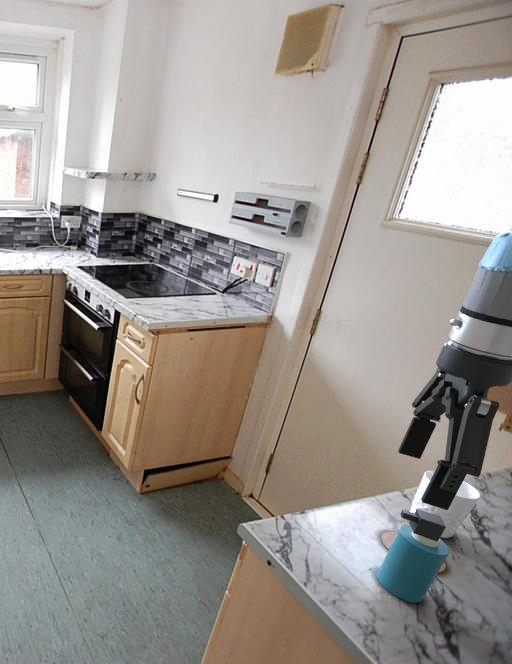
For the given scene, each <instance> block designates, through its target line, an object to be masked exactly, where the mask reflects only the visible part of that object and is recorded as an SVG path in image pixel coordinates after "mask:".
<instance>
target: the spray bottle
mask: <svg viewBox="0 0 512 664" xmlns="http://www.w3.org/2000/svg"><path fill="white" fill-rule="evenodd" d="M400 516H401V519H404V520H407V521H409V524H404V525H401V526H400V527H399V529H398V531H397V532H398V533H397V535H396V537H395V539H394V541H393V543H392V545H391V547H390V549H389V550H387V553H386V555H385V558H384V559H383V561H382V563H381V565H380V567H379V569H378V571H377V573H376V577H377V580H378V581H379V583H380V584H381V585H382V587H383V588H384V589H386V590H387V591H388V592H390V593H391V594H392V595H394V596H396V597H397V598H399V599H402V600H404V601H406V602H410V603H420V602H422V601H423V599H424V598H425V596H426V594H427V592H428V591H429V589H430V587H431V585H432V584H433V582H434V581H435V578H436V577H437V575H438V574H439V573H438V571H439V570H440V568H441V566H442V564H443V563H444V562H445V561H446V559H447V557H448V555H449V554H450V549H449V547H448V545H447V544H446V543H445V541H443V540H442V539H441V538H442V537H441V535H442V533H443V531H444V530H445V528H446V526H445V524H444V522H443V520H442V518H441V516H438V515H435V514H432V513H429V512H426V511H423V510H420V509H416V511H415V513H412V512H410V510H409V511H408V510H406V509H402V510H401V512H400Z"/></svg>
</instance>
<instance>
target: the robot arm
mask: <svg viewBox="0 0 512 664" xmlns="http://www.w3.org/2000/svg"><path fill="white" fill-rule="evenodd" d="M477 266H478V268H477V271H476V273H475V275H474V278H473V280H472V282H471V284H470V286H469V289H468V291H467V293H466V295H465V298H464V300H463V303H462V306H461V307H460V309H459V312H458V314H457V316H456V318H452V319H450V320H449V325H450V326H452V327H451V329H450V332H449V333H448V339H449V341H447V342H445V343H443V346H442V348H441V351H440V352H439V354H438V357H437V359H436V361H435V364H436V367H437V369H436V371H435V372H434V374H433V376H431V378H430V379H429V380H428V382H427V383H426V384H425V386H424V387H423V388H422V389H421V391H420V392H419V393H418V394H417V396H416V397H415V399H414V400H413V401H412V402H411V407H412V408H414V410H413V412H412V413H413V417H412V419H411V421H410V424H409V426H408V428H407V429H406V433H405V434H404V436H403V439H402V441H401V443H400V445H399V448H398V449H397V453H398V454H400V455H404V456H407V457H411V458H415V459H419V460H421V458H422V456H423V454H424V452H425V450H426V447H427V446H428V443H429V441H430V440H431V438H432V435H433V433H434V431H435V429H436V427H437V423H436V422H438V423H441V421H442V420H441V419H442V418H441V416H442V415H444V416H445V418H447V419H448V428H447V438H446V445H445V454H444V459H439V460H437V461H436V463H437V466H436V468H435V470H434V471H435V472H434V474H433V476H432V478H431V480H430V482H429V484H428V486H427V488H426V490H425V492H424V494H423V496H422V498H421V500H422V502H423V503H426V504H429V505H432V506H435V507H438V508H441V509H445V510H448V509H449V507H450V505H451V503H452V501H453V499H454V497H455V496H456V494H457V492H458V490H459V488H460V486H461V484H462V482H463V481H465V479H466V477H467V475H469V476H473V477H476V478H478V477H480V476H481V475H482V470H483V466H484V461H485V458H486V457H485V456H486V452H487V449H488V444H489V439H490V435H491V431H492V427H493V422H494V419H495V416H496V414H497V413H498V410H499V407H500V402H499V401H496V400H493V399H492V400H491V399H488V398H489V397H488V395H489V390H490V389H491V388H494V387H499V388H500V387H507V386H509V385H511V384H512V231H511V230H510V231H504V232H501V233H499V234H497V235H496V236H495V237H494V238H493V240H492V241H491V243H490V245H489V246H488V247H487V249H486V251H485V253H484V255H483V256H482V259H481V260H480V261H479V263H478V265H477Z"/></svg>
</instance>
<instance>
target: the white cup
mask: <svg viewBox="0 0 512 664" xmlns="http://www.w3.org/2000/svg"><path fill="white" fill-rule="evenodd" d="M434 472H435V470H425V472H424V473H423V475H422V478H421V480H420V482H419V485H418V487H417V490H416V493H415V495H414V497H413V500H412V503H411V507H410V510H409V512H412V513H415V511H416V509H420V510H423V511H426V512H429V513H432V514H435V515H438V516H441V518H442V520H443V522H444V524H445V526H446V528H445V530H444V531H443V533H442V535H441V537H440V538H443V539H449V538H452V537H454V535H455V533H456V532H457V530H458V528H459V527H461V525H462V524H463V523H464V521H465V520H466V518H467V517H468V516H469V514H470V513H471V511H472V509H473V508H474V506H475V505H476V504H477V502H478V501H479V499H480V497H481V494H480V492H479V491H478V490H477V489H476V488H475V487H474V486H473V485H471V484H470V483H468V482H466V481H465V480H463V482H462V484H461V486H460V488H459V490H458V492H457V494H456V496H455V497H454V499H453V501H452V503H451V505H450V507H449V509H448V510H445V509H441V508H438V507H435V506H432V505H429V504H426V503H423V502H422V500H421V498H422V496H423V494H424V492H425V490H426V488H427V486H428V484H429V482H430V480H431V478H432V476H433V474H434Z"/></svg>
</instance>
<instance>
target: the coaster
mask: <svg viewBox="0 0 512 664" xmlns="http://www.w3.org/2000/svg"><path fill="white" fill-rule="evenodd" d="M397 533H398V531H385V532H383V533H382V535H381V542H382V544H383V545H384V547H385V548H386V549H387V551H389V549H390V547H391V545H392V543H393V541H394V539H395V537H396V535H397ZM446 567H447V566H446V562H445V561H444V563H443V564H442V566H441V568H440V570H439V571H438V573H437V574H440V573H443V572H444V571H445V570H446Z"/></svg>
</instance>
